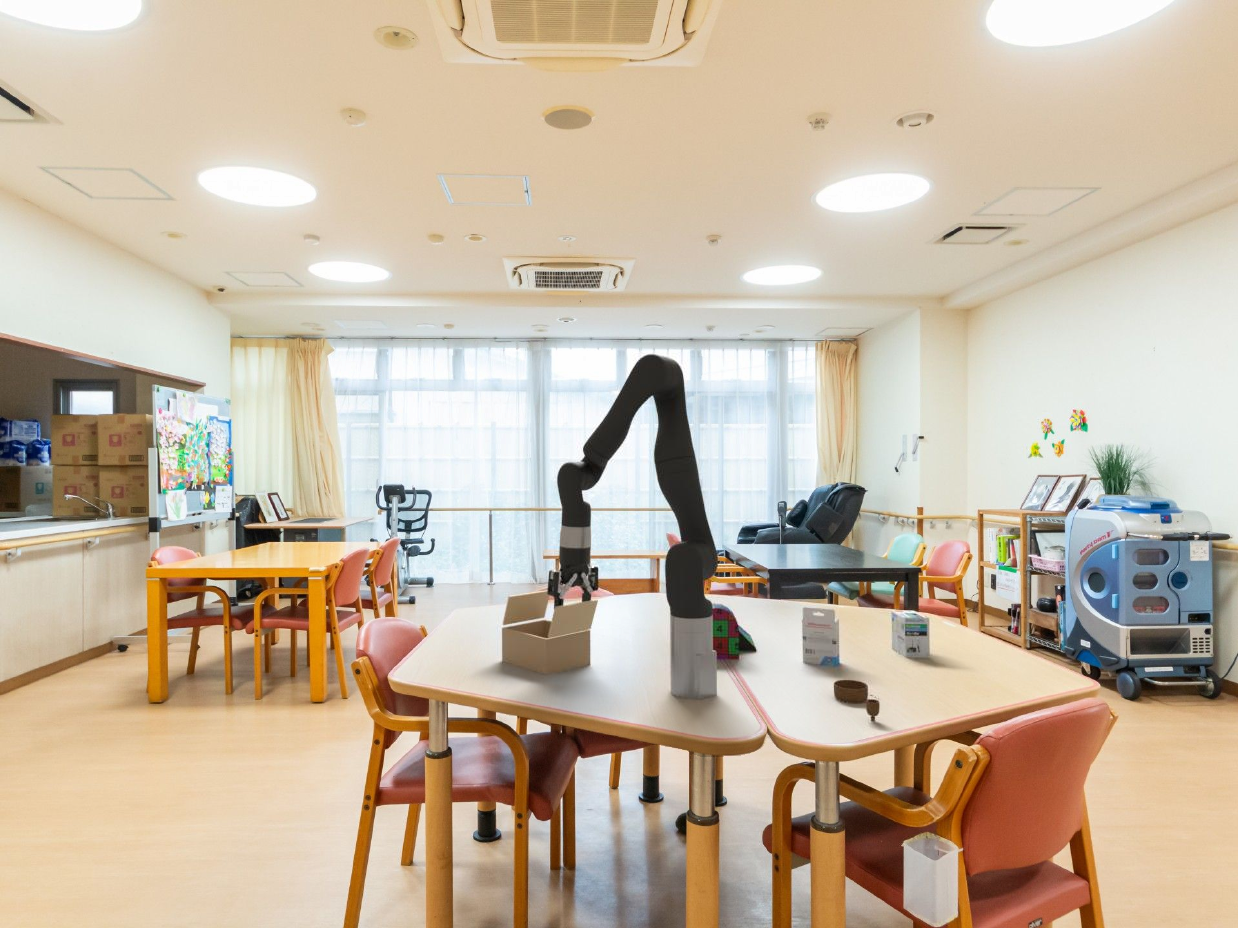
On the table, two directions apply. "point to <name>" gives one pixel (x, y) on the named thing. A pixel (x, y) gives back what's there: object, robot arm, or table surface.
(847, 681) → the place setting
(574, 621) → the near flap
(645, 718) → the table surface
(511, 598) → the far flap
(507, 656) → the carton
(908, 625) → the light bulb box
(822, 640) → the ink box
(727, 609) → the toy block train
